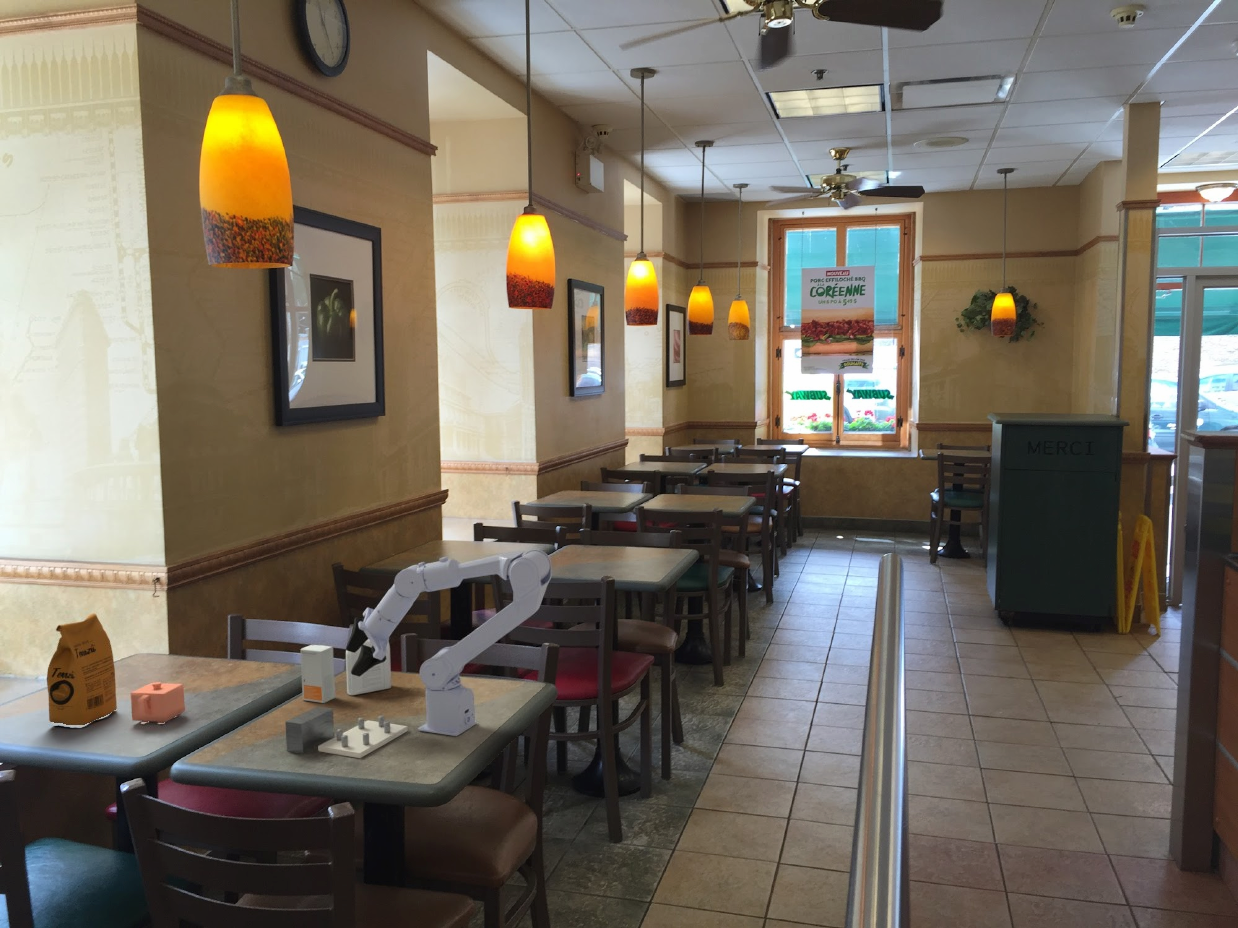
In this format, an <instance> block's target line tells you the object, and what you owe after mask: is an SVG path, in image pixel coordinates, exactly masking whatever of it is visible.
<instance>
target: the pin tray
mask: <svg viewBox="0 0 1238 928" xmlns="http://www.w3.org/2000/svg"><path fill="white" fill-rule="evenodd" d="M377 719H378V721H375V720H366V721H365V718H364V717H359V718H357V722H358V723H357V725H356V726H354V727H352V728H351V729H348V730H346V731H345V732H344V731H343V728H337V729H336V730H335V731H336V736H334V738H332V739H330V740H329V741H327V742H325V743H323V744H321V745H319V746H317V747H318V748H317V749H318V750H317V751H318V752H321V753H328V754H333V755H338V756H346V757H350V758H357V759H362V758H364V756H365V757H366V755H368V754H370V753H371V752H374V751H375V750H377V749H379V748H380V747H382V746H384V745H386V744H388V743H389V742H391V741H393V740H395V739H396V738H399V737H400V736H401V735H403V734H404V733H407V732H408V726H407V725H402V724H397V723H396V724H395V723H391V722H390V721H385V719H386V718H385V715H379V716H378V717H377Z"/></svg>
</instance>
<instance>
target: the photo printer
mask: <svg viewBox="0 0 1238 928" xmlns="http://www.w3.org/2000/svg"><path fill="white" fill-rule="evenodd" d="M363 645H366V646H369V647H372V646H373V645H372V643H371V642H370V640H369V639H368V640H367V641H366V642H365V643H364V644H363ZM360 651H361V647H360V648H359V650H358V651H356V652H355V653H353V652H350V651H347V650H346V649H345V665H346V666H345V668H346V672H345V673H346V693H347V694H348V695H349V696H356V695H361V694H367V693H372V692H377V691H383V690H388V689H391V688H392V675H391V673H392V671H391V669H392V668H391V646H390V642H389V641H388V644H387V648H386V652H387V654H386V660H385V662H382V663H380V664H377V665H375V666H373V667H372V668H370V669H369V670H368V671H366V672H365V673H364V674H362V675H361V676H360V677H359V676H356V675H353V674H351V670H352V668H353V666H354V664H355V663H356V661H357V659H358V657H359V654H360Z"/></svg>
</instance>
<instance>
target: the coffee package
mask: <svg viewBox="0 0 1238 928" xmlns="http://www.w3.org/2000/svg"><path fill="white" fill-rule="evenodd" d="M55 631H56V632H59V634H60V636H61V637H60V638H59V639H58V642H57V646H56V650H55V651H54V654H53V655H52V656H51V660H50V662H49V664H48V667H47V673H46V685H47V693H48V694H47V695H48V720H49V722H50V723H51V722H54V723H63V724H66V725H85V724H87V723H90V722H92V721H94V720H96V719H99V718H101V717H104V716H106V715H108V714H110V713H111V712H113V711H114V710H116V709H117V710H118V705H117V694H116V693H117V692H116V691H117V690H116V688H117V687H116V685H117V684H116V670H115V669H116V668H115V664H114V663H115V661H114V660H115V659H114V654H113V648H112V643H111V641H110V639H109V636H108V634H107V632H106V630H105V629H104V627H103V625H102V622H101V621H100V620H99V617H98V616H97V613H92V614H90V615H88V616H87V617H86V619H84V620H83V621H78V622H77V621H76V622H70V623H64V624H58V625H57V626H56V629H55ZM113 713H114V712H113ZM94 722H95V721H94ZM92 723H93V722H92Z"/></svg>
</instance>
